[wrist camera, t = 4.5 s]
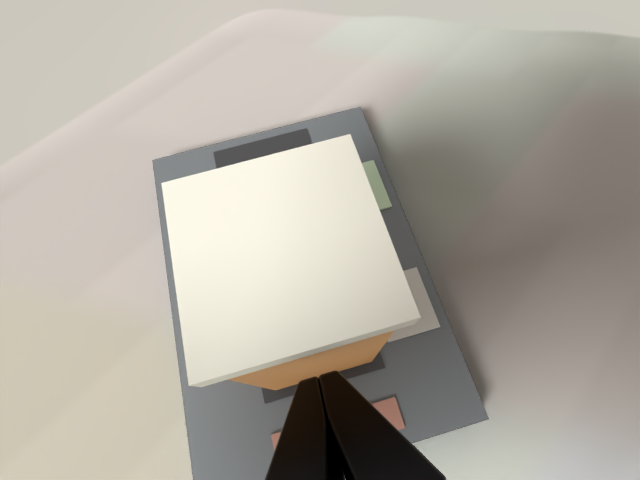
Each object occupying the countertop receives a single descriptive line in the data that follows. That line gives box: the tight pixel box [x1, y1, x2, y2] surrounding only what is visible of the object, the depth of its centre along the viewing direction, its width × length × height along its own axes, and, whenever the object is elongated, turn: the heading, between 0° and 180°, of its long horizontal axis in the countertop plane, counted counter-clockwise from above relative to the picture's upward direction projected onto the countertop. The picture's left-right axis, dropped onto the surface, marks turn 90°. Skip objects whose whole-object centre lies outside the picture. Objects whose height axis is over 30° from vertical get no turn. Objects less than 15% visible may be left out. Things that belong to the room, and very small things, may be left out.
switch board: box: [152, 107, 489, 480], centre depth 16 cm, size 14×10×1 cm
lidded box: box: [161, 134, 421, 390], centre depth 11 cm, size 4×4×8 cm
